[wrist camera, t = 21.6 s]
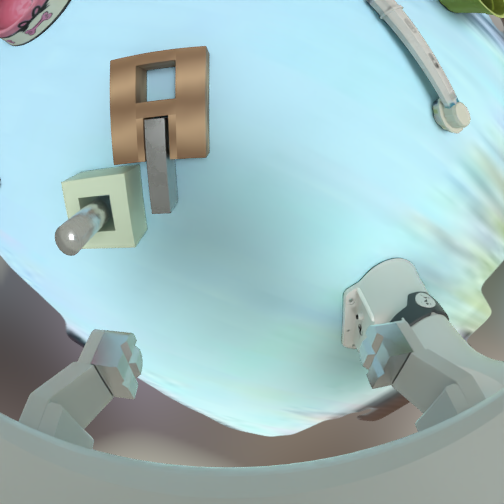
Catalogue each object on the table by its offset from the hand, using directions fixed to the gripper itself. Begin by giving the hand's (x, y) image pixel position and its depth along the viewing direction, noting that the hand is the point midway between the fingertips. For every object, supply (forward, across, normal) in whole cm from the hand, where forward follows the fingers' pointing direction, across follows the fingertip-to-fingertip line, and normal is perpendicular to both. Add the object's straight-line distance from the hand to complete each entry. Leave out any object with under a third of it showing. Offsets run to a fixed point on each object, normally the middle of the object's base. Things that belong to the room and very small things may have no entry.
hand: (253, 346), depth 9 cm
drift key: (+31, +10, -1) cm, 33 cm away
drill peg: (+31, +19, +4) cm, 37 cm away
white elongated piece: (+32, -27, -20) cm, 46 cm away
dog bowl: (+32, +35, -36) cm, 59 cm away
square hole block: (+31, +19, +4) cm, 37 cm away
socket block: (+31, +10, -9) cm, 34 cm away
